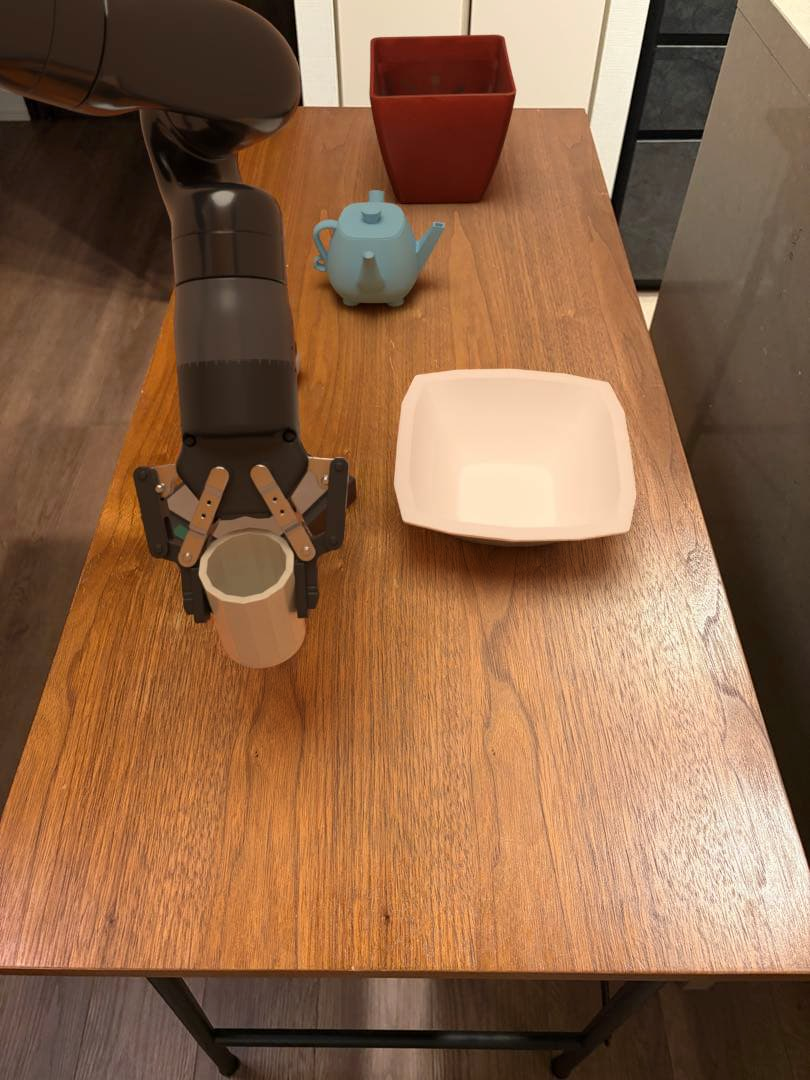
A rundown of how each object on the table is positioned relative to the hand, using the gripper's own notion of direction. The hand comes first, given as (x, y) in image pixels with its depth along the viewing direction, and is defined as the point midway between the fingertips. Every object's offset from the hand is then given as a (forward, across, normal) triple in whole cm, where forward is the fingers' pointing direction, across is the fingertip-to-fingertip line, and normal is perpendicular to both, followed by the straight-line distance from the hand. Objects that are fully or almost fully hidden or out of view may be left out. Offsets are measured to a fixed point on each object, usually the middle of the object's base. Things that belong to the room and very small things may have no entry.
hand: (253, 617), depth 56 cm
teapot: (-31, +10, +58) cm, 67 cm away
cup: (+2, 0, +4) cm, 5 cm away
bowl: (-4, +22, +31) cm, 38 cm away
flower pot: (-50, +20, +77) cm, 94 cm away
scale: (-5, -4, +30) cm, 31 cm away
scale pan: (-7, -4, +28) cm, 29 cm away
